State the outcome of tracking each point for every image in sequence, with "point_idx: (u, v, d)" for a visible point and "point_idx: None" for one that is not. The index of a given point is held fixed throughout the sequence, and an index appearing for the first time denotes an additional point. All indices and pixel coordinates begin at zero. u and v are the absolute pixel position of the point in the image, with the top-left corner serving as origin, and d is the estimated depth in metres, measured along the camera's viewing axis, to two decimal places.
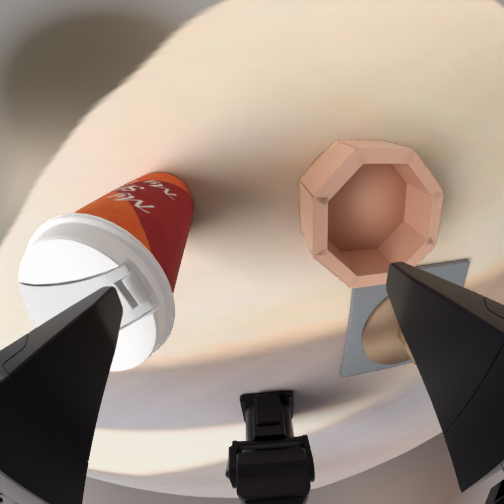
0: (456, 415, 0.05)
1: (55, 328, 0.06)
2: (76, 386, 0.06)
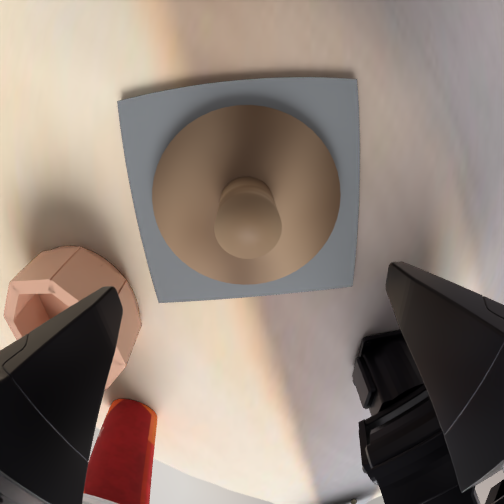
0: (456, 415, 0.05)
1: (55, 328, 0.06)
2: (76, 386, 0.06)
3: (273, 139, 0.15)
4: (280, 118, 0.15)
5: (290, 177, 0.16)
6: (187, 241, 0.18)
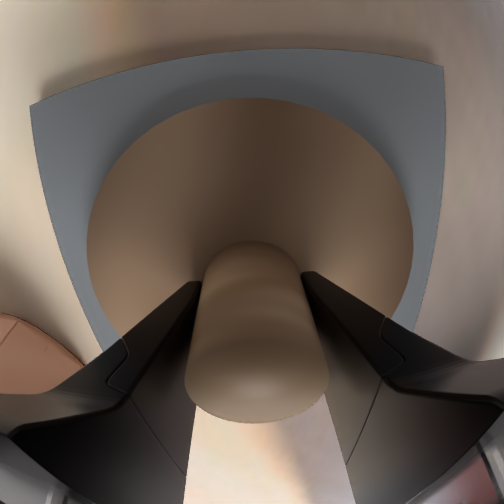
0: (351, 448, 0.05)
1: (158, 329, 0.06)
2: (181, 394, 0.06)
3: (305, 169, 0.08)
4: (319, 126, 0.07)
5: (334, 240, 0.09)
6: None
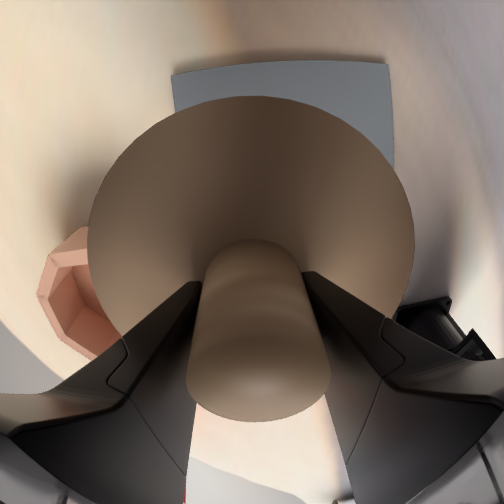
0: (351, 447, 0.05)
1: (158, 329, 0.06)
2: (180, 394, 0.06)
3: (306, 167, 0.08)
4: (320, 124, 0.07)
5: (335, 238, 0.09)
6: None
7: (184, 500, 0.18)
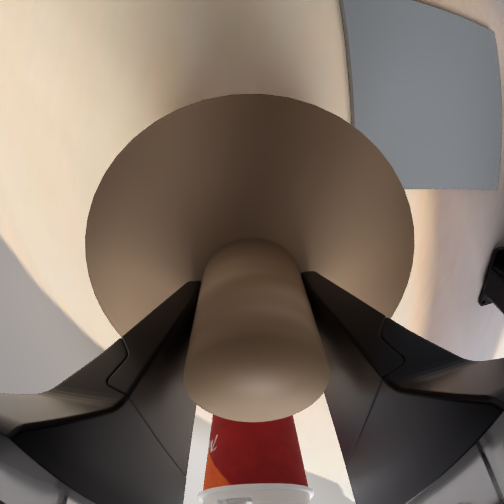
0: (351, 447, 0.05)
1: (158, 329, 0.06)
2: (180, 394, 0.06)
3: (305, 165, 0.08)
4: (319, 122, 0.07)
5: (334, 238, 0.09)
6: None
7: None
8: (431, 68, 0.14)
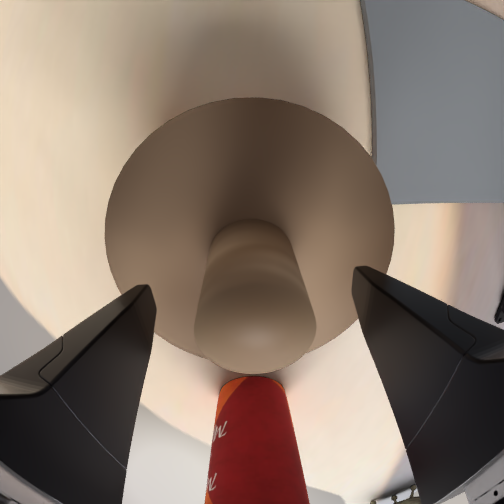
0: (416, 429, 0.05)
1: (94, 329, 0.06)
2: (116, 391, 0.06)
3: (296, 157, 0.09)
4: (307, 121, 0.09)
5: (322, 219, 0.10)
6: (163, 311, 0.12)
7: None
8: (459, 65, 0.11)
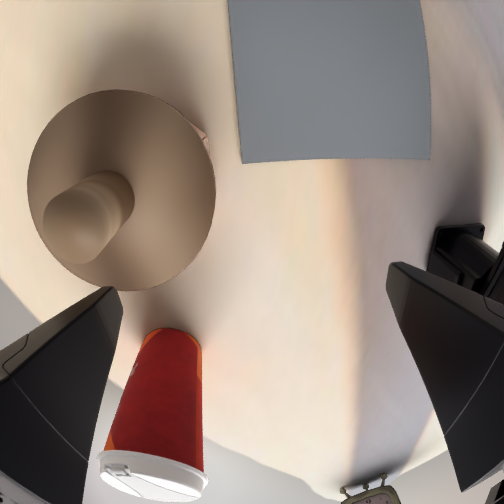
0: (456, 415, 0.05)
1: (55, 328, 0.06)
2: (76, 386, 0.06)
3: (127, 124, 0.12)
4: (132, 99, 0.12)
5: (149, 165, 0.13)
6: None
7: (203, 471, 0.15)
8: (328, 32, 0.14)
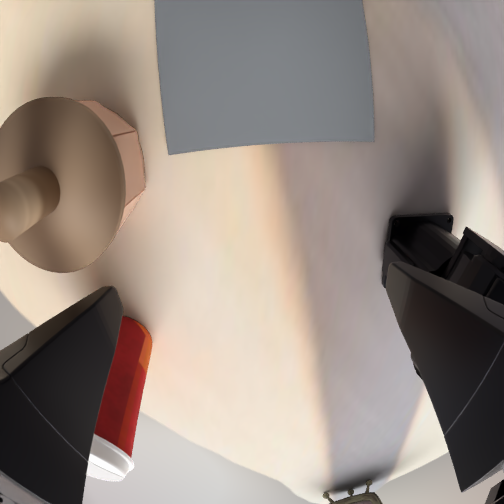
0: (456, 415, 0.05)
1: (55, 328, 0.06)
2: (76, 386, 0.06)
3: (52, 126, 0.12)
4: (55, 104, 0.12)
5: (69, 160, 0.13)
6: None
7: (128, 452, 0.15)
8: (250, 19, 0.15)
